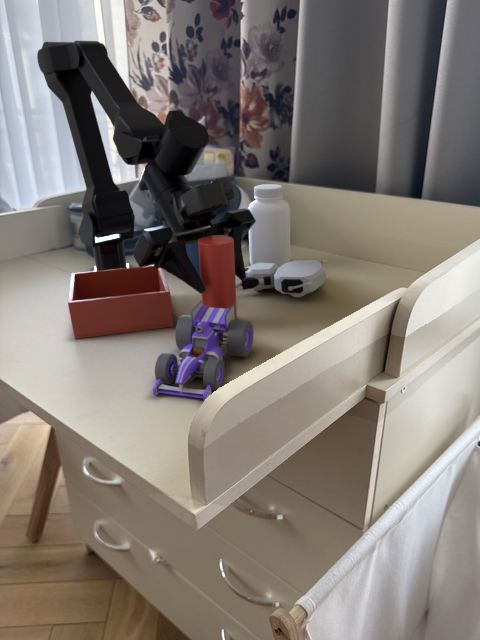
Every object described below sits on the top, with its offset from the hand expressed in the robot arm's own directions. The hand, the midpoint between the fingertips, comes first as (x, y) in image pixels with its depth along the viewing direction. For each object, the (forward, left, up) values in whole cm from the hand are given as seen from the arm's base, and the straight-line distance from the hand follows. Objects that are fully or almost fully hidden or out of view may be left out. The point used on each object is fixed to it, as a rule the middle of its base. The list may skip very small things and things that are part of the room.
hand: (224, 285), depth 78 cm
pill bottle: (-26, +14, -7) cm, 31 cm away
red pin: (-1, -1, -7) cm, 7 cm away
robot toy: (-12, +12, -7) cm, 19 cm away
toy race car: (+12, -6, -7) cm, 15 cm away
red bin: (-9, -15, -7) cm, 18 cm away
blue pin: (-26, -1, -7) cm, 27 cm away
